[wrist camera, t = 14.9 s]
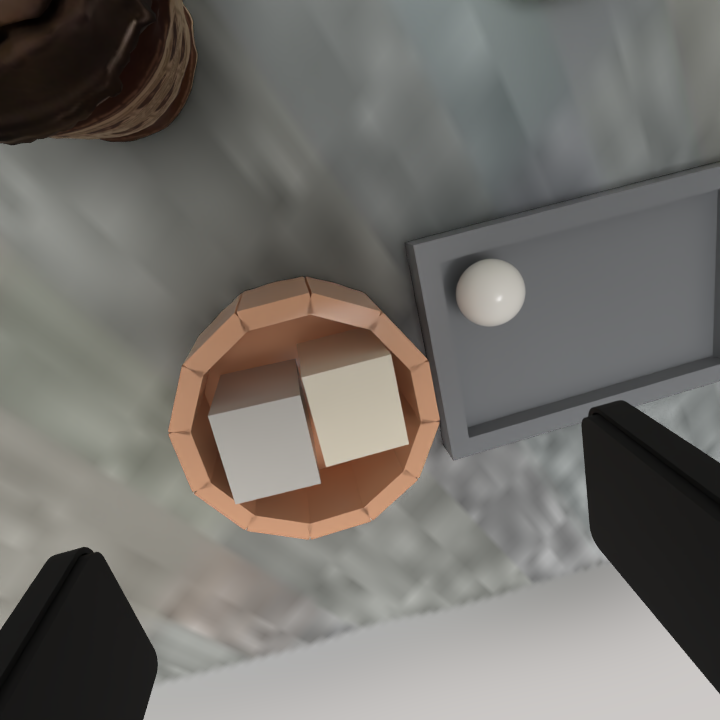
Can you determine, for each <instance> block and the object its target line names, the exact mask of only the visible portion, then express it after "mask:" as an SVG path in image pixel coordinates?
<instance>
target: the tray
mask: <svg viewBox="0 0 720 720" xmlns="http://www.w3.org/2000/svg"><path fill="white" fill-rule="evenodd" d="M405 247H406V252H407V257H408V262H409V268H410V273H411V278H412V283H413V288H414V294H415V299H416V304H417V309H418V314H419V320H420V325H421V330H422V335H423V340H424V346H425V351H426V356H427V360H428V361H429V365H430V370H431V376H432V381H433V386H434V391H435V397H436V402H437V407H438V412H439V418H440V420H439V422H440V423H439V424H440V429H441V434H442V439H443V445H444V447H445V449H446V450H447V452H448V453H449V455H450V456H451V458H452V459H453V460H456V459H460V458H463V457H467V456H470V455H473V454H477V453H480V452H483V451H487V450H490V449H493V448H497V447H500V446H503V445H507V444H510V443H514V442H517V441H520V440H524V439H527V438H530V437H534V436H537V435H540V434H544V433H547V432H551V431H554V430H557V429H561V428H564V427H567V426H571V425H574V424H577V423H581V422H582V420H583V418H585V417H588V413H589V410H590V409H591V408H592V407H596V406H599V405H603V404H607V403H610V402H614V401H618V400H623V401H626V402H627V403H629V404H630V405H632V406H634V407H635V406H638V405H641V404H645V403H648V402H651V401H655V400H658V399H661V398H665V397H668V396H671V395H675V394H678V393H682V392H685V391H688V390H692V389H695V388H698V387H702V386H705V385H708V384H712V383H715V382H719V381H720V161H719V162H715V163H711V164H707V165H703V166H700V167H696V168H692V169H688V170H684V171H680V172H676V173H672V174H668V175H665V176H661V177H657V178H653V179H649V180H645V181H641V182H637V183H634V184H630V185H626V186H622V187H618V188H614V189H610V190H606V191H602V192H599V193H595V194H591V195H587V196H583V197H579V198H575V199H571V200H568V201H564V202H560V203H556V204H552V205H548V206H544V207H540V208H536V209H533V210H529V211H525V212H521V213H517V214H513V215H509V216H505V217H502V218H498V219H494V220H490V221H486V222H482V223H478V224H474V225H470V226H467V227H463V228H459V229H455V230H451V231H447V232H443V233H439V234H436V235H432V236H428V237H424V238H420V239H416V240H412V241H408V242H405ZM484 259H500V260H503V261H506V262H508V263H510V264H512V265H513V266H514V267H515V268H516V269H517V270H518V271H519V272H520V274H521V276H522V278H523V280H524V283H525V289H526V294H525V300H524V303H523V306H522V308H521V309H520V311H519V312H518V314H517V315H516V316H515V317H514V318H512V319H511V320H510V321H508V322H506V323H504V324H502V325H498V326H493V327H486V326H480V325H477V324H475V323H473V322H471V321H470V320H468V319H467V318H466V317H465V316H464V315H463V314H462V312H461V311H460V309H459V307H458V304H457V301H456V287H457V283H458V281H459V278H460V277H461V275H462V274H463V272H464V271H465V270H466V269H467V268H468V267H469V266H471V265H472V264H474V263H476V262H478V261H480V260H484Z"/></svg>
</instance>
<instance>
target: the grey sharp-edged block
mask: <svg viewBox="0 0 720 720" xmlns="http://www.w3.org/2000/svg"><path fill="white" fill-rule="evenodd" d="M208 418H209V421H210V425H211V428H212V431H213V434H214V437H215V441H216V444H217V447H218V450H219V453H220V457H221V460H222V463H223V466H224V469H225V472H226V476H227V479H228V482H229V485H230V488H231V492H232V495H233V498H234V501H235V504H239V503H244V502H248V501H252V500H256V499H260V498H264V497H268V496H272V495H276V494H280V493H284V492H288V491H292V490H297V489H301V488H305V487H309V486H313V485H317V484H321V480H320V473H319V467H318V461H317V455H316V448H315V442H314V436H313V431H312V426H311V422H310V418H309V413H308V409H307V405H306V401H305V396H304V392H303V388H302V384H301V379H300V375H299V371H298V367H297V362H296V359H291V360H286V361H282V362H277V363H273V364H268V365H264V366H259V367H255V368H250V369H245V370H241V371H236V372H232V373H227V374H223V375H220V379H219V382H218V385H217V388H216V391H215V395H214V398H213V401H212V404H211V407H210V411H209V414H208Z"/></svg>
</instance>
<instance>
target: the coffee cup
mask: <svg viewBox="0 0 720 720" xmlns="http://www.w3.org/2000/svg"><path fill="white" fill-rule="evenodd" d="M197 57H198V53H197V50H196V47H195V41H194V31H193V20H192V17H191V15H190V12H189V11H188V10H187V8H186V7H185V6H184V4H183V1H182V0H0V143H4V144H9V145H16V144H20V143H31V142H33V141H35V140H37V139H44V138H48V137H50V138H56V139H58V138H73V139H101V140H105V141H110V142H127V141H134V140H137V139H140V138H144V137H146V136H149V135H151V134H154V133H156V132H158V131H161V130H162V129H164V128H166V127H167V126H168V125H169V124H170V123H171V122H172V121H173V120H174V119H175V118H176V117H177V116H178V114H179V112H180V111H181V110H182V108H183V106H184V104H185V103H186V100H187V98H188V96H189V94H190V92H191V89H192V83H193V79H194V72H195V68H196V64H197Z"/></svg>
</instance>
